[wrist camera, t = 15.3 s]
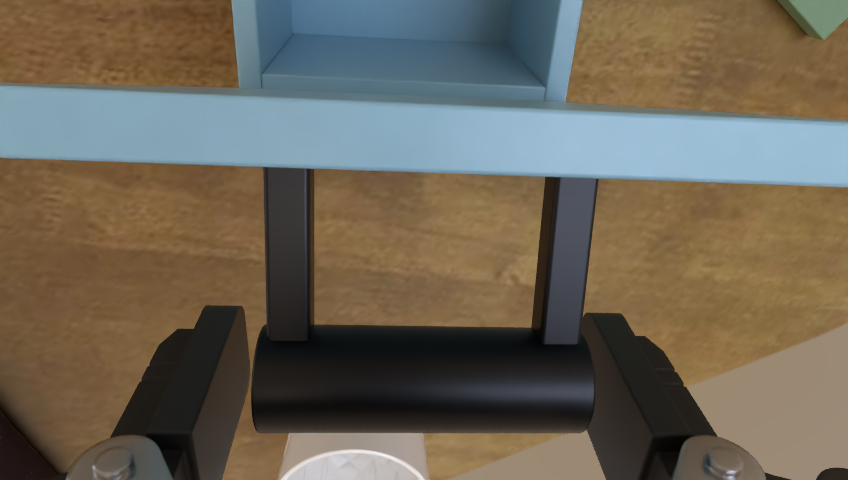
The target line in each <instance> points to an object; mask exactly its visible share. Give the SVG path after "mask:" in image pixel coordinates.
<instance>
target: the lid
mask: <svg viewBox="0 0 848 480" xmlns="http://www.w3.org/2000/svg"><path fill="white" fill-rule="evenodd" d="M0 158H13V159H42V160H71V161H100V162H129V163H158V164H187V165H216V166H245V167H263V168H264V215H265V262H266V309H267V324H266V325H264V326H263V328H262V329H261V332H260V334H259V337H258V341H257V345H256V350H255V356H254V363H253V372H252V388H251V404H252V417H253V422H254V426H255V429H256V431H257V432H259V433H582V432H584V431H585V430H586V429H587V428H588V427H589V425H590V422H591V419H592V416H593V412H594V405H595V392H596V386H595V371H594V364H593V359H592V354H591V350H590V347H589V344H588V342H587V340H586V338H585V336H584V335H583V333H582V332H581V326H582V318H583V309H584V300H585V291H586V283H587V274H588V265H589V257H590V248H591V239H592V231H593V222H594V213H595V204H596V196H597V187H598V179H621V180H650V181H679V182H708V183H737V184H766V185H795V186H824V187H848V120H840V119H825V118H809V117H793V116H777V115H761V114H746V113H730V112H714V111H698V110H682V109H667V108H651V107H635V106H619V105H603V104H588V103H572V102H551V101H529V100H506V99H484V98H461V97H439V96H416V95H394V94H372V93H349V92H327V91H304V90H282V89H259V88H236V87H187V86H138V85H89V84H40V83H0ZM314 169H332V170H361V171H390V172H419V173H448V174H477V175H506V176H534V177H545V188H544V199H543V209H542V220H541V231H540V241H539V252H538V263H537V274H536V284H535V295H534V306H533V316H532V327H531V328H514V327H445V326H376V325H314Z"/></svg>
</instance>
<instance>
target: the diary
mask: <svg viewBox="0 0 848 480" xmlns="http://www.w3.org/2000/svg"><path fill="white" fill-rule="evenodd" d="M57 475H58V474H57V473H56V472H55V471H54V470H53V469H52V468H51V467H50V466H49V465H48V464H47V462H46V461H45V460H44V459H43V458H42V457H41V456H40V455H39V454H38V453H37V452H36V451H35V449H34V448H33V447H32V446H31V445H30V444H29V443H28V442H27V441H26V440H25V439H24V438H23V436H22V435H21V434H20V433H19V432H18V431H17V430H16V429H15V427H14V426H13V425H12V424H11V422H10V421H9V420H8V419H7V417H6V416H5V415H4V414H3V412H2V411H1V410H0V476H2V477H3V479H4V480H42V479H46V478H50V477H54V476H57Z"/></svg>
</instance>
